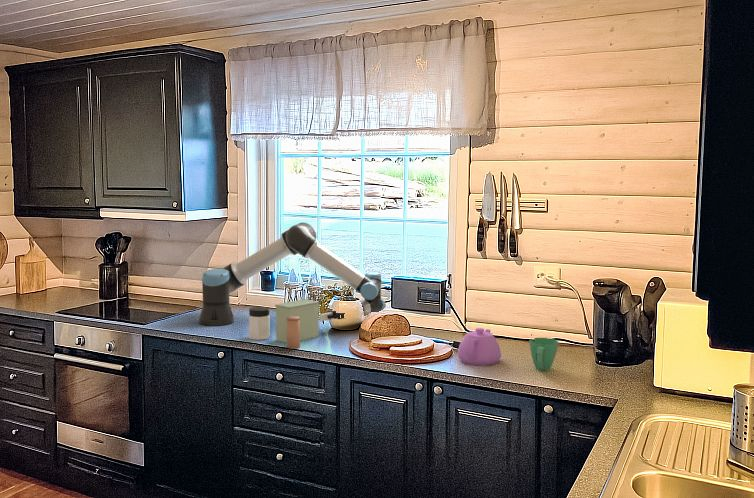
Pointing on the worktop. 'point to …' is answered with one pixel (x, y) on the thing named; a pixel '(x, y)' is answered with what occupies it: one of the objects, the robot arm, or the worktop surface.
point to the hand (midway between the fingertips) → (320, 317)
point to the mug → (543, 352)
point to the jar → (259, 323)
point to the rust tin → (293, 332)
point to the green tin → (308, 318)
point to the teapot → (479, 348)
